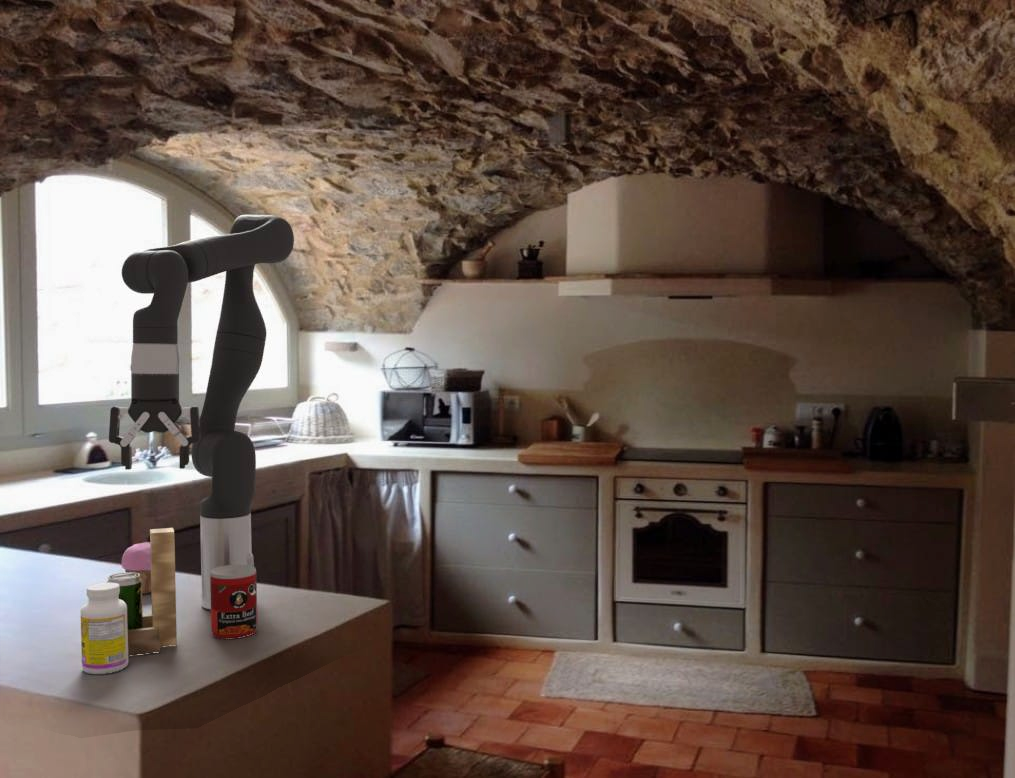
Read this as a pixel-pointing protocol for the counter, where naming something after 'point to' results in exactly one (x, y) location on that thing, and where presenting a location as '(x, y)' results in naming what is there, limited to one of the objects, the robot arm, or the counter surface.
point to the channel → (144, 638)
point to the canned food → (233, 601)
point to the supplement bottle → (104, 630)
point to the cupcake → (139, 563)
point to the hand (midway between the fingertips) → (155, 468)
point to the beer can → (130, 596)
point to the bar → (163, 584)
